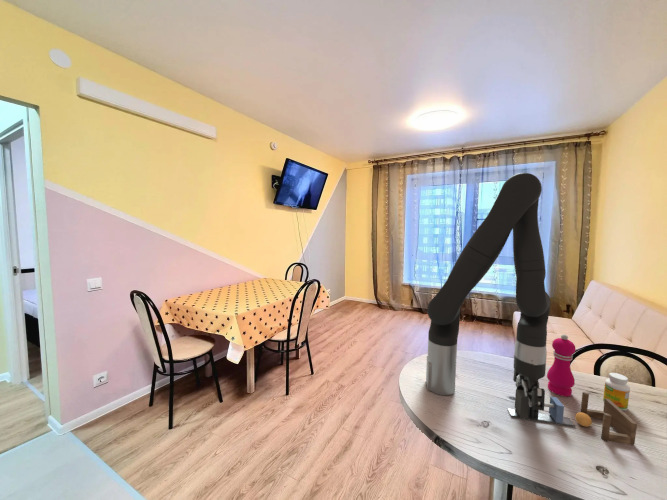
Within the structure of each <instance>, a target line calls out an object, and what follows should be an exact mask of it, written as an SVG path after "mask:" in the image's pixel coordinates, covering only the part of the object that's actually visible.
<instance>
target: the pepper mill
mask: <svg viewBox="0 0 667 500" xmlns="http://www.w3.org/2000/svg"><path fill="white" fill-rule="evenodd" d="M551 347H552V348H553V353H552V354H553V357H554V360H553V363H552V365H551V366H550V368H549V369H548V371H547V373H546V378H547V380H548V382H547V388H548V390H549V391H550V392H552V393H553V394H556V395H558V396H562V397H571V396H572V395H573V394H572V393H573V389H572V388H573V387H574V386H575V376H574V374H573V373H572V370H571V361H572V360H573V357H574V355H573V354H575V352H576V350H577V349H576V345H575V343H573V342H572V341H571V340H570V339H569V336H568V335H567V334H562V335H561V336H560V337H557V338H555V339H553V340H552V343H551Z"/></svg>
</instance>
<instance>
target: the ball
mask: <svg viewBox="0 0 667 500" xmlns="http://www.w3.org/2000/svg"><path fill="white" fill-rule="evenodd" d="M574 419H575V421H576V422H577V424H579V425H580V426H582V427H586V428H589V427H590V426H592V423H593V421H592V418H590V417H589V416H588V415H587V414H585V413H583V412H580V411H579V412H577V413H575V416H574Z"/></svg>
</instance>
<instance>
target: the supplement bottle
mask: <svg viewBox="0 0 667 500" xmlns="http://www.w3.org/2000/svg"><path fill="white" fill-rule="evenodd" d="M628 379H629V378H628V377H627V376H625V375H623V374H621V373H617V372H609V374H608V378H606V379H605V381H604V390H603V396H602V402H604V401H605V399H609V400H611V401H612V402H613V403H614V404H615V405H616V406H617V407H618V408H620V409H621V410H622V411H627V410H628V407H629V399H630V392H631V388H630V386H629V385H628Z"/></svg>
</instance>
